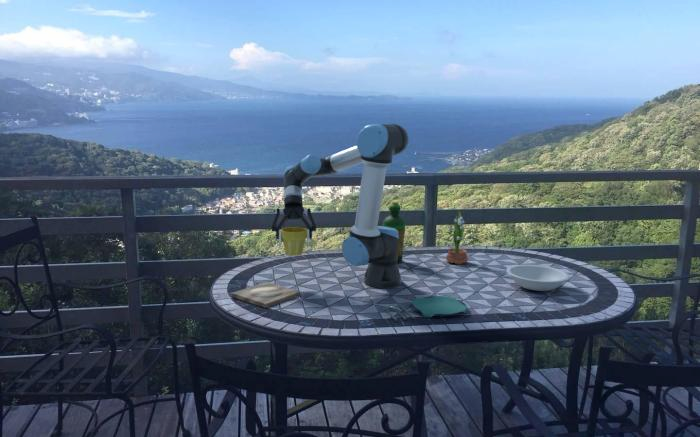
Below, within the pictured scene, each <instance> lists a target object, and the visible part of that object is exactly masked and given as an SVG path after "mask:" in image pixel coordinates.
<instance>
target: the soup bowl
mask: <svg viewBox="0 0 700 437" xmlns="http://www.w3.org/2000/svg"><path fill="white" fill-rule="evenodd" d="M506 273H507V274H508V275H510V277H511V279H512V280H513V282H514V283H515V284H516V285H518V286H519V287H521V288H524V289H527V290H531V291H537V292H538V291H539V292H547V291H548V292H549V291H553V290H555V289H557V288H559V287H560V286H562V285H563V283H564V282H567V281H569V279H570V274H569V273H567V271H563V270H561V269H558V268H556V267H551V266H545V265H541V264H540V265H539V264H538V265H537V264H517V265H511V266H509V267H507V268H506Z"/></svg>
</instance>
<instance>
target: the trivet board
mask: <svg viewBox="0 0 700 437" xmlns="http://www.w3.org/2000/svg"><path fill="white" fill-rule="evenodd" d="M300 296H301V291H300V290H297V289H296V290H295V289H293V288H290V287H286V286H282V285H279V284H275V283H272V282H268V281H266V282H263V283H260V284H257V285H253V286H251V287H247V288H243V289H240V290H236V291H234V292H231V298H234V299H237V300H240V301H243V302H246V303H249V304H253V305H256V306H259V307H262V308H265V309H266V308H269V307H272V306H274V305H277V304H281V303H282V302H286V301H288V300H292V299H294V298H297V297H300Z"/></svg>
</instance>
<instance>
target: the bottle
mask: <svg viewBox="0 0 700 437" xmlns="http://www.w3.org/2000/svg"><path fill="white" fill-rule="evenodd" d="M388 211H389V215H388V216H386V217H385V218H384V219H383V221H382V227H390V228H394V229H396V230H397V231H398V238H399V239H398V260H397V264H400V263H402V262H403V254H404V246H405V234H406V233H405V232H406V226H407V225H406V224H407V222H406V220H405V218H403V217H402V216H400V211H402V209H401V206H400V204H399V202H398V201H391V204H389V207H388Z"/></svg>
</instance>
